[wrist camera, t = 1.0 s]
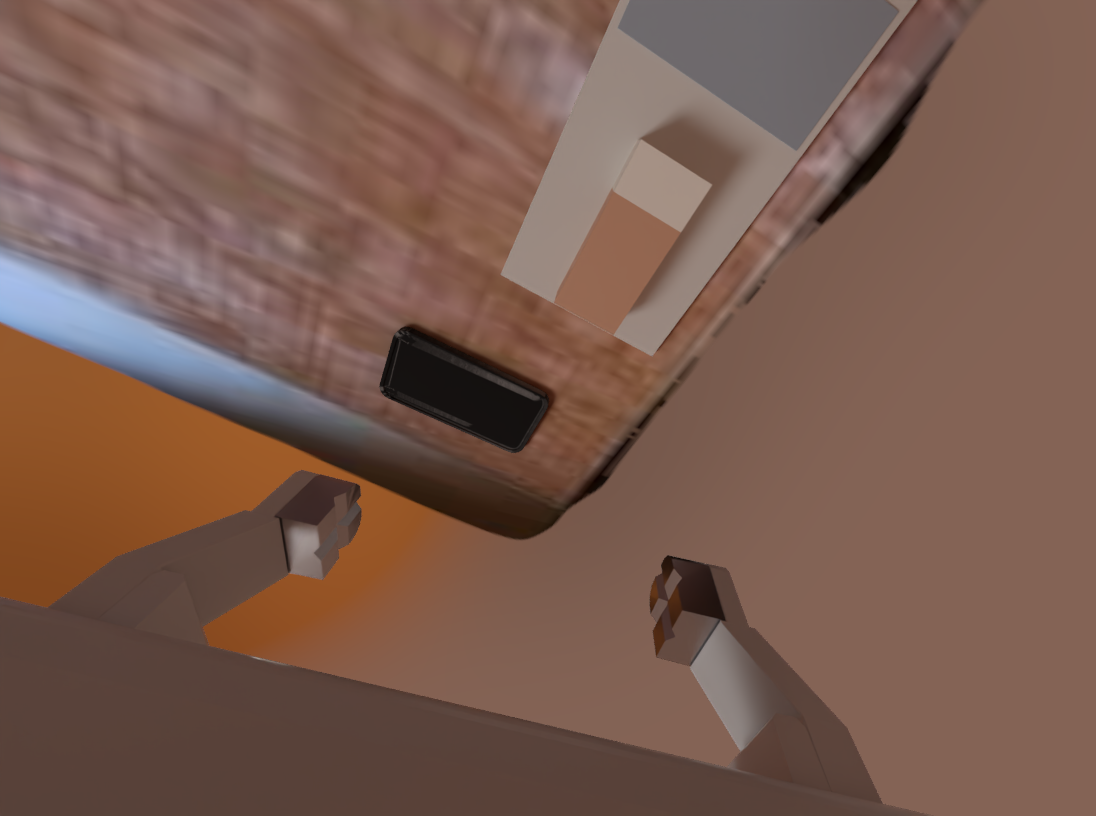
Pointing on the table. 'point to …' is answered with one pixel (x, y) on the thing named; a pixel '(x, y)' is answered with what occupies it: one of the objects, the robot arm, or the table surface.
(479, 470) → the table surface
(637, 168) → the two-tone tall block
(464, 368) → the phone
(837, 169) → the table surface
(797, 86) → the mat
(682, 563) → the robot arm
